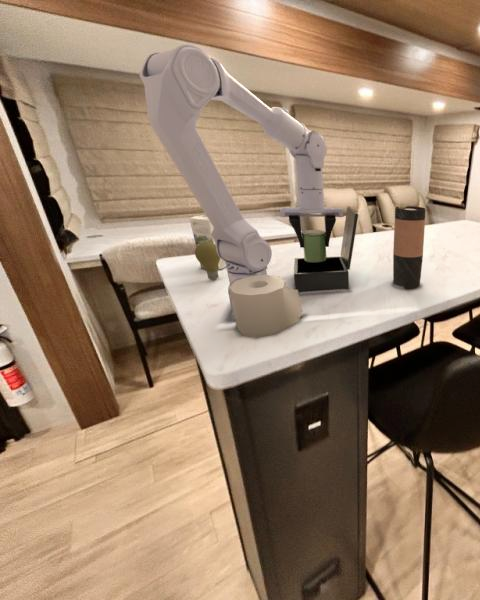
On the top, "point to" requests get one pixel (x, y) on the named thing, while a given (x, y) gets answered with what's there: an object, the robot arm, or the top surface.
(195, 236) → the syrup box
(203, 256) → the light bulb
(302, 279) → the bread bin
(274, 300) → the toilet tissue
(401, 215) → the travel mug
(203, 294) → the top surface
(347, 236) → the bin lid
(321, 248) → the green pot
